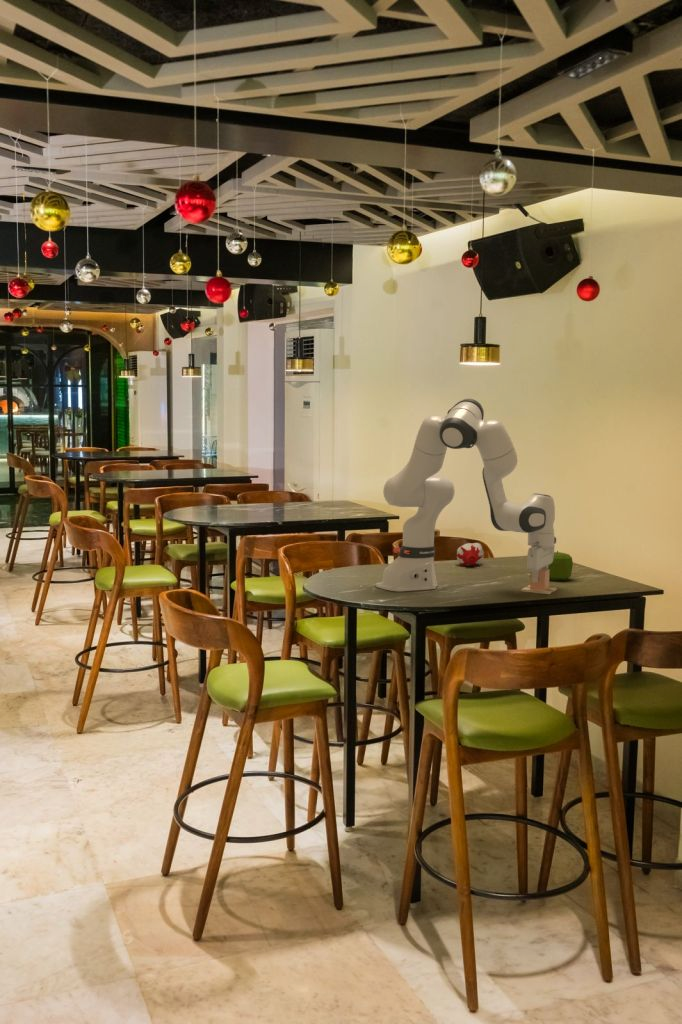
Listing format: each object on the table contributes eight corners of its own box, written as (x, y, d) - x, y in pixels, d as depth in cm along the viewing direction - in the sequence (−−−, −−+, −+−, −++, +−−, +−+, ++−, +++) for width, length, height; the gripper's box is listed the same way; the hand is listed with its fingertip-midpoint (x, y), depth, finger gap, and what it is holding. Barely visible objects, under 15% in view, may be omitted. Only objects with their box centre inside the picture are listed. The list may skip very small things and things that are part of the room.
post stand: (549, 594, 312) (550, 575, 311) (520, 591, 316) (521, 573, 316) (557, 589, 320) (558, 571, 320) (529, 586, 325) (530, 569, 325)
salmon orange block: (544, 590, 315) (545, 571, 314) (529, 589, 317) (530, 570, 317) (548, 588, 319) (549, 569, 319) (534, 586, 322) (534, 568, 321)
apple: (576, 581, 336) (578, 552, 335) (549, 582, 334) (549, 552, 333) (564, 576, 347) (565, 548, 346) (537, 577, 345) (538, 548, 344)
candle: (481, 561, 379) (486, 571, 364) (453, 560, 379) (457, 571, 364) (482, 540, 377) (487, 550, 362) (454, 539, 377) (458, 549, 362)
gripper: (541, 544, 306) (539, 585, 307) (557, 537, 324) (556, 576, 325) (522, 543, 309) (521, 583, 310) (540, 536, 327) (539, 574, 328)
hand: (539, 579), depth 318 cm, fingers open, 8 cm apart
